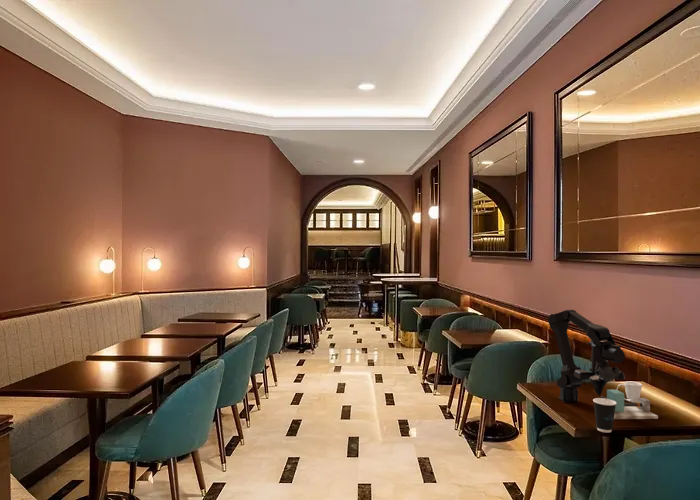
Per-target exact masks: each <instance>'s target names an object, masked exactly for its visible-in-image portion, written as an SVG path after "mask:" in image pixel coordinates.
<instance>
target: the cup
mask: <svg viewBox="0 0 700 500" xmlns="http://www.w3.org/2000/svg"><path fill="white" fill-rule="evenodd" d="M620 386H623V387H624V388H625V395H626V398H625V397H624V401H627V402H628V403H635V402H638V398H641V392H642V387H643V384H642V383H640V382H639V381H630V380H629V381H627V380H626V381H624V383H619V384H618V385H617V387H616V390H618V389H619V387H620ZM618 391H619V390H618Z"/></svg>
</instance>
